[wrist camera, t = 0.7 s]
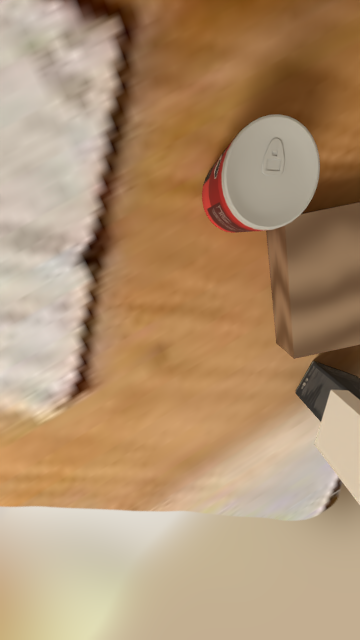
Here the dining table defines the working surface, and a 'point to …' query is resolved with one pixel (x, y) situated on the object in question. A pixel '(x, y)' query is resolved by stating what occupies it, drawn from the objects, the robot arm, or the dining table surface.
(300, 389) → the box
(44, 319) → the dining table surface
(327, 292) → the brown wooden block
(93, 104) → the dining table surface
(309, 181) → the canned food
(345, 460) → the robot arm
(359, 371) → the dining table surface
